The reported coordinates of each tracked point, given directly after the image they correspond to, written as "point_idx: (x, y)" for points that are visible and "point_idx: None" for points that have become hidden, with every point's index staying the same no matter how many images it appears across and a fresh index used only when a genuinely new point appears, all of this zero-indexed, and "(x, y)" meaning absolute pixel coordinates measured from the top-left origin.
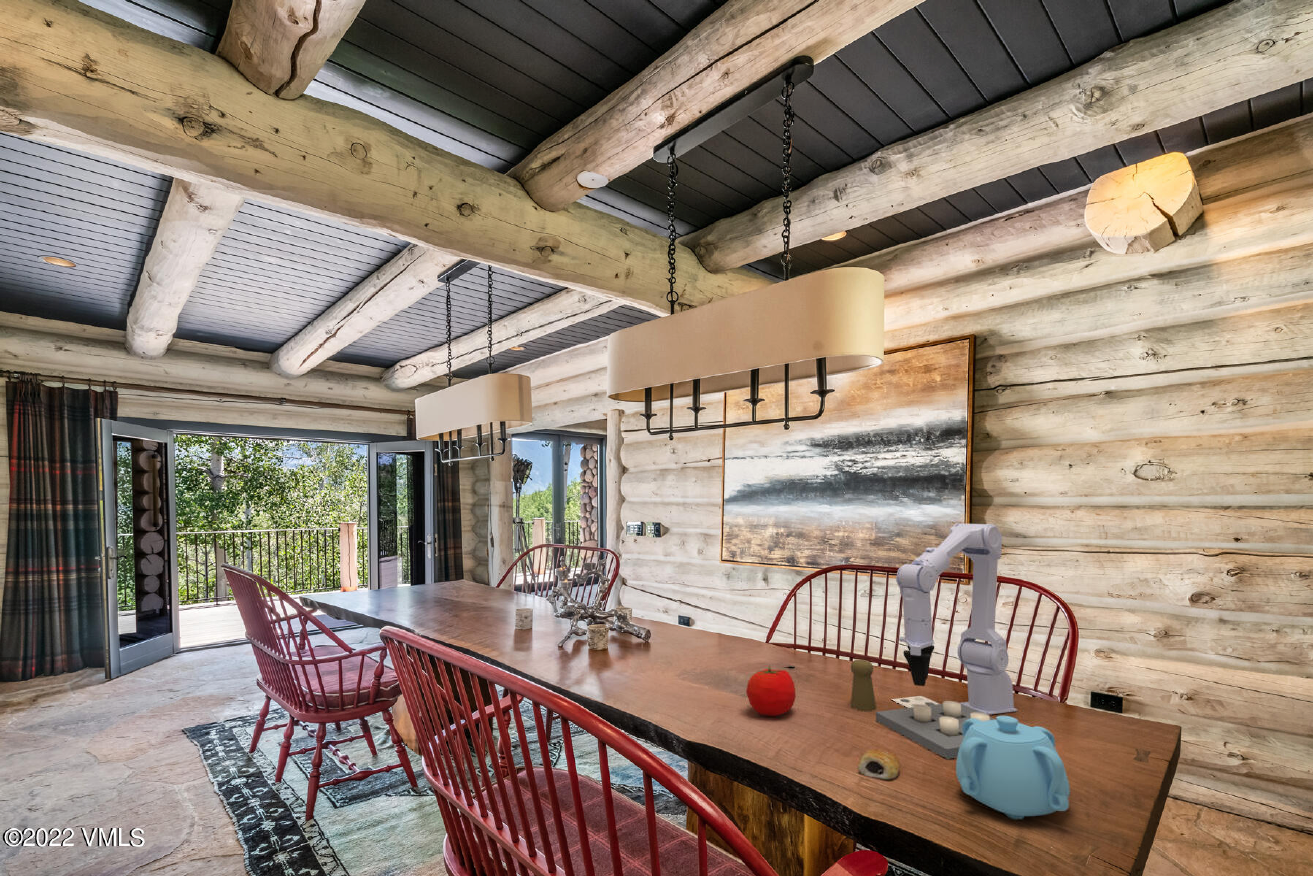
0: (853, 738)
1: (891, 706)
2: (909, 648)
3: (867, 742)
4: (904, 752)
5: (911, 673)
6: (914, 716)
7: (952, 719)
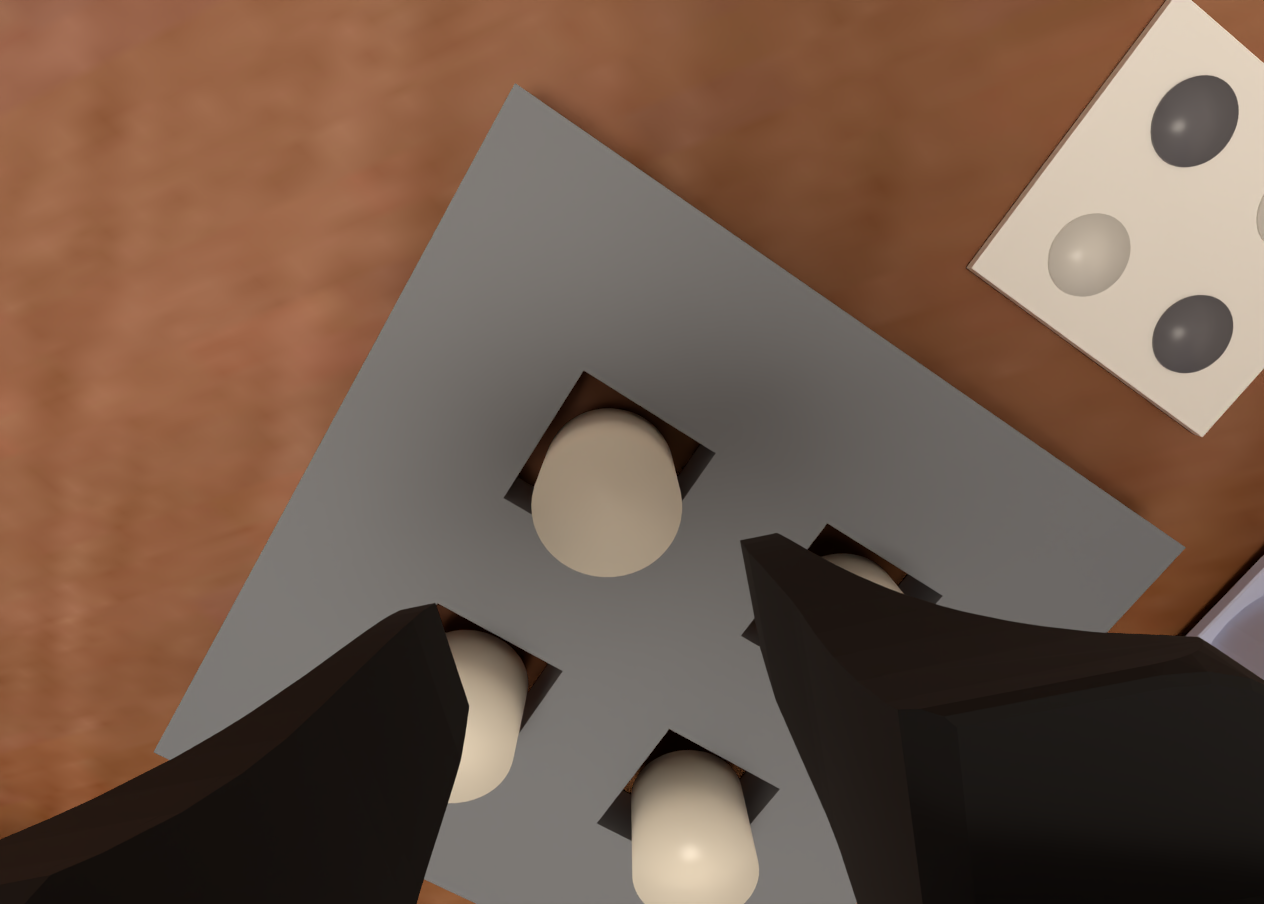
0: (28, 107)
1: (996, 62)
2: (894, 738)
3: (47, 233)
4: (97, 496)
5: (298, 683)
6: (563, 433)
7: (463, 766)
